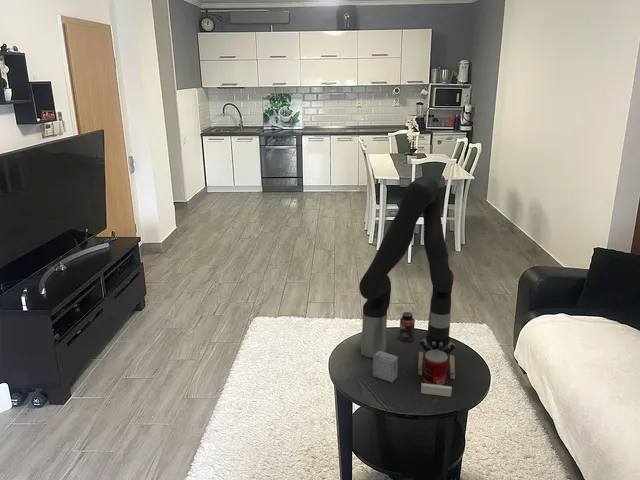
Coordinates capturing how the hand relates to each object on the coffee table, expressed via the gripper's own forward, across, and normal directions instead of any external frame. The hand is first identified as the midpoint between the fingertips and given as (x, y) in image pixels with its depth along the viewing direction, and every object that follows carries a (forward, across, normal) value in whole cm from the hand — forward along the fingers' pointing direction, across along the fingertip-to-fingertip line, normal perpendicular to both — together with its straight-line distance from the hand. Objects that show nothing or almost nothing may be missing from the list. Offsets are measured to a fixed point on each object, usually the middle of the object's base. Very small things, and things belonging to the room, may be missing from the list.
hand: (435, 365), depth 186 cm
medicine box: (+3, -18, -7) cm, 19 cm away
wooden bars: (+3, 0, +3) cm, 4 cm away
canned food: (+3, 0, -7) cm, 8 cm away
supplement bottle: (+3, -12, +23) cm, 26 cm away
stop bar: (+3, +1, -13) cm, 14 cm away
